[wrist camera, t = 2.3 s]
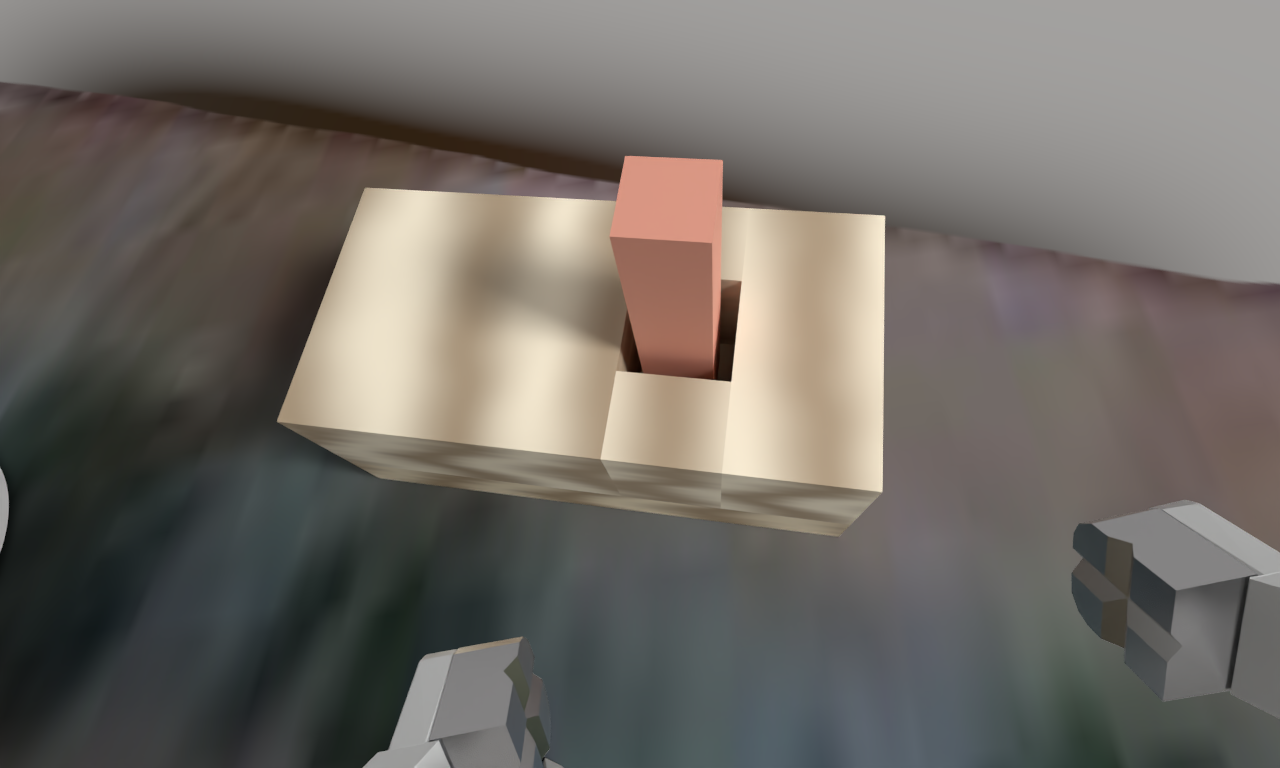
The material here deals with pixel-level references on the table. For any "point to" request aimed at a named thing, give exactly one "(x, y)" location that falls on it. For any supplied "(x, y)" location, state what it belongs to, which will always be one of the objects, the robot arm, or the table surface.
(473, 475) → the beige wooden block
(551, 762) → the hinge
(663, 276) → the salmon pink square peg
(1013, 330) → the table surface
